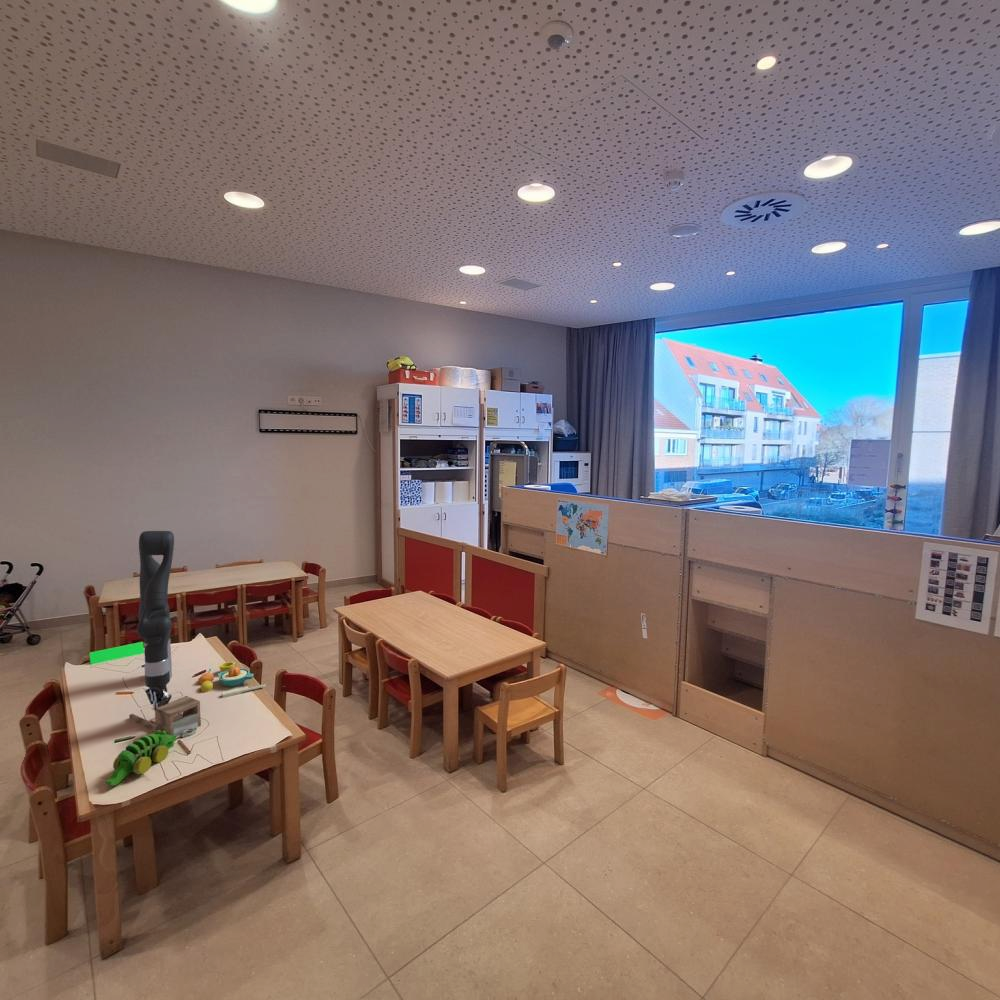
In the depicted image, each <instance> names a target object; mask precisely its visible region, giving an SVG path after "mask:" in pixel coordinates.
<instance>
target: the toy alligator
mask: <svg viewBox="0 0 1000 1000" xmlns="http://www.w3.org/2000/svg"><path fill="white" fill-rule="evenodd" d="M160 733H161V734H160ZM196 733H197V731H196V728H194V729H193V728H189V729H187V730H186V731H183V732H181V735H179V736H177V737H176V736H175V735H169V734H166V731H162V732H161V730H157V731H156V732H154V733H149V734H147V735H143V736H141V737H139V738H138V739H136V740H134V741H133V742H132V743H129V744H128V745H126V747H125V749H124V750H122V751H121V752H120V753H118V755H117V756H116V757H115V759H114V760H113V764H112V768H113V771H112V773H111V775H110V777H109V778H108V779H106V780H105V781H104V784H105V785H107V786H117V785H118V784H120V783H121V782H122V781H123V780H124V779H126V777H127V776H128V775H129V774H130V773H131V772H132V773H135V774H137V775H144V774H145V773H147V772H148V771H149V770H150V768H151V766H152V761H153V762H154V763H159V764H160V763H161V762H163V761H165V759H167V757H168V755H169V749H171V748H173V747H174V745H175V743H174V742H175V741H176V739H178V738H179V737H180V738H187V737H190V736H193V735H195V734H196Z"/></svg>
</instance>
